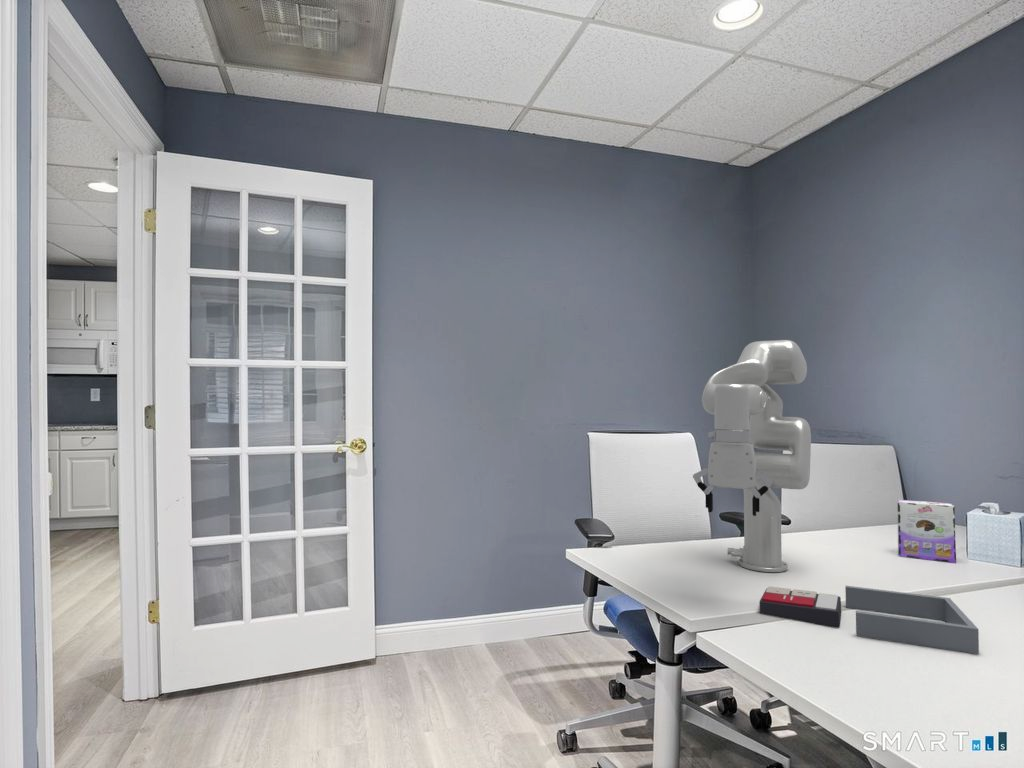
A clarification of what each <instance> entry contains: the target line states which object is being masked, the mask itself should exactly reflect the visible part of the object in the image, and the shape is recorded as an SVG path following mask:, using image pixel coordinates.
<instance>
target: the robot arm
mask: <svg viewBox="0 0 1024 768" xmlns="http://www.w3.org/2000/svg"><path fill="white" fill-rule="evenodd" d="M804 356H805V355H804V354H803V352H802V350H801V348H800V346H799V345H798V344H797V343H796V342H795V341H793V340H789V339H778V340H776V339H775V340H760V341H759V340H758V341H753V342H750V343H748V344H747V345H746V346H745V347H744V348H743V349H742V352H741V354H740V356H739V358H738V360H737V362H736V363H735V364H732V365H729V366H728V367H725V368H722V369H721V370H718V371H717V372H715V373H714V374H712V375H711V376H710V378H709V379H708V381H707V382H706V384H705V386H704V389H703V392H702V396H701V403H702V404H701V405H702V407H703V409H704V410H705V411H706V412H707V413H708V414H710V415H714V430H713V431H708V432H707V438H708V439H709V438H710V439H713V440H714V442H711V443H710V446H709V447H710V448H709V453H708V464H707V465H708V467H706V468H703V469H702V470H700V471H698V472H695V473H694V474H692V478H693V480H694V482H695V483H696V485H697V487H698V488H699V489H700V490H701V491H702V492H703V493H704V495H705V508H706V509H708V513H712V512H713V510H714V503H713V502H714V495H713V490H714V489H715V488H724V489H740V490H743V521H744V523H743V526H744V527H743V529H744V530H743V531H744V533H743V536H744V539H743V541H744V543H743V544H744V545H743V547H739V548H733V547H727V555H728V556H729V555H730V556H731V557H739V558H738V565H739V566H741V567H743V568H745V569H747V570H752V571H757V572H763V573H783V572H785V571H787V570H788V569H789V565H788V563H787V562H785V561H784V560H782V557H783V556H782V505H781V500H780V499H779V497H778V496H777V495H776V493H775V492H774V490H772V489H785V490H805V488H807V486H808V485H809V483H810V477H811V457H812V456H811V455H812V454H811V453H812V452H811V451H812V449H811V448H812V447H811V446H812V433H811V427H810V423H808V421H807V420H806V419H805V418H802V417H797V416H783V411H784V410H783V407H784V402H783V400H782V398H781V396H779V394H778V393H777V392H776V391H775V390H774V388H773V389H772V387H770V386H769V385H797V384H798V385H799V384H801V383H803V382H804V381H805V379H806V377H807V373H808V366H807V365H808V364H807V362H806V358H805V357H804ZM755 448H756V449H759V450H766V451H767V450H769V451H783V452H785V451H787V452H790V453H777V452H761V451H759V452H757V451H755ZM706 475H707V481H708V486H707V485H706V484H705V483H704V482H703V480H702V477H703V476H706Z"/></svg>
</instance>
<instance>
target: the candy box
mask: <svg viewBox="0 0 1024 768" xmlns="http://www.w3.org/2000/svg"><path fill="white" fill-rule="evenodd" d="M896 502H897V503H896V505H897V507H896V508H897V554H898V557H902V558H910V559H911V558H912V559H917V560H918V559H919V560H927V561H937V562H944V563H953V564H954V563H955V564H956V563H957V549H956V548H957V547H956V546H957V545H956V543H957V542H956V518H955V517H956V516H955V515H956V514H955V510H956V508H955V505H954V504H953V503H947V502H935V501H934V502H933V501H925V500H923V501H922V500H910V499H907V500H906V499H897V501H896Z"/></svg>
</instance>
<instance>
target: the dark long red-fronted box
mask: <svg viewBox="0 0 1024 768" xmlns="http://www.w3.org/2000/svg"><path fill="white" fill-rule="evenodd" d="M759 614H760V615H766V616H770V617H777V618H783V619H787V620H792V621H800V622H806V623H807V622H808V623H813V624H814V625H818V626H824V627H825V626H826V627H831V628H837V629H839V628H840V627H841V619H842V600H841V596H839V595H838V594H832V593H822V592H819V593H818V592H817V591H813V590H812V591H811V590H805V589H798V588H797V589H795V588H794V589H793V590H792V589H791V588H789V587H788V588H787V587H779V586H767V588H766V589H765V590H764V592H763V594H762V596H761V598H760V600H759Z"/></svg>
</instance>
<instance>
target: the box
mask: <svg viewBox="0 0 1024 768" xmlns="http://www.w3.org/2000/svg"><path fill="white" fill-rule="evenodd" d="M844 591H845V607H846V608H848V609H856V610H855V634H856V636H857V637H863V638H869V639H873V640H875V639H876V640H882V641H890V642H894V643H895V642H896V643H901V644H902V643H903V644H909V645H915V646H922V647H928V648H934V647H935V648H934V649H942V650H947V651H948V650H949V651H954V652H955V651H956V652H961V651H962V652H963V653H967V652H968V653H969V654H975V655H979V653H980V645H979V643H980V642H979V641H980V640H979V639H980V638H979V634H980V633H979V632H980V631H979V628H978V627H977V626H976V625H975V624H974V623H973V622H972V620H971V619H970V618H969V617H968V616H967V615H966V614H965V613H964V612H963V610H962V609H961V608H959V606H958V605H957V604H956V603H955V602H954V601H953V600H952V599H951V598H950V597H945V596H935V595H928V594H927V595H926V594H921V593H919V594H918V593H911V592H902V591H893V590H885V589H877V588H869V587H860V586H853V585H845V590H844ZM862 610H864V611H862ZM868 611H870V612H868ZM876 612H877V613H876ZM879 612H880V613H879ZM881 613H882V614H881ZM883 613H885V614H883ZM890 614H891V615H890ZM892 614H893V615H892ZM896 615H897V616H896ZM898 615H901V616H898ZM904 616H905V617H904ZM906 616H908V617H906ZM909 616H910V617H909ZM912 617H916V618H912ZM920 618H922V619H920ZM928 619H929V620H928ZM934 620H938V621H934ZM944 621H946V622H944Z"/></svg>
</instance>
